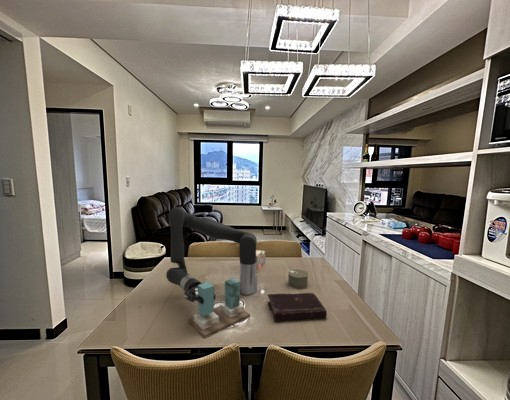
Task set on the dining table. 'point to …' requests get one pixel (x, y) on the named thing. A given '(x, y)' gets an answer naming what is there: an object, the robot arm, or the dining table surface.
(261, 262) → the stack of blocks
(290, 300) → the diary
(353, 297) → the dining table surface
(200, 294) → the teal pillar
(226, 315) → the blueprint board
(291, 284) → the can
